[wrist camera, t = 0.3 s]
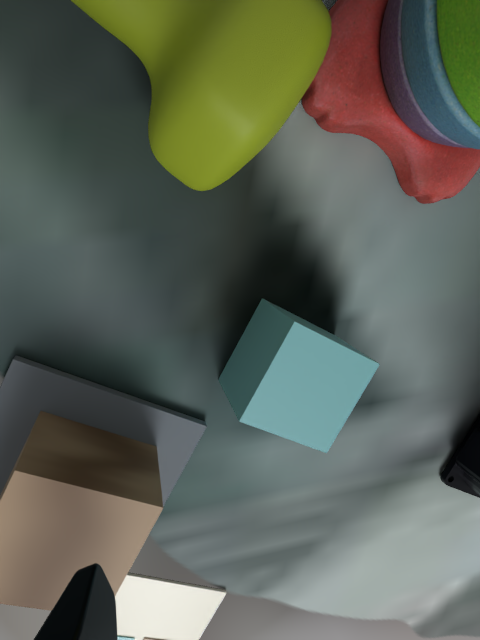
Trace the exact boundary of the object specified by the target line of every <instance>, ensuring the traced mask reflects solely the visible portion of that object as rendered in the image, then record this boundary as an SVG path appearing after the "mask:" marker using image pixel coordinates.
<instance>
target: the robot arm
mask: <svg viewBox="0 0 480 640" xmlns="http://www.w3.org/2000/svg"><path fill="white" fill-rule="evenodd" d="M441 481H443V482H444V483H445V484H446V485H448V486H450V487H453V488H456V489H458V490H461V491H463V492H466V493H469V494H471V495H474V496H477V497H479V498H480V416H479V418H478V419H477V421H476V422H475V424H474V425H473V427H472V428H471V430H470V432H469V433H468V435H467V436H466V438H465V439H464V441H463V442H462V444H461V445H460V447H459V448H458V450H457V452H456V453H455V455H454V456H453V458H452V459H451V461H450V462H449V464H448V465H447V467H446V468H445V470H444V471H443V473H442V475H441ZM34 640H118V638H117V617H116V601H115V596H114V592H113V590H112V588H111V585H110V583H109V581H108V579H107V577H106V575H105V573H104V571H103V569H102V567H101V566H100V565H99V564H98V563H95V564H92V565H89V566H87V567H84V568H82V569H79V570H78V571H77V572H76V573H75V574H74V575H73V577H72V579H71V580H70V582H69V583H68V585H67V587H66V588H65V590H64V591H63V593H62V595H61V596H60V598H59V600H58V601H57V603H56V604H55V606H54V608H53V609H52V611H51V613H50V614H49V616H48V617H47V619H46V621H45V622H44V624H43V626H42V627H41V629H40V630H39V632H38V634H37V635H36V637H35V638H34Z"/></svg>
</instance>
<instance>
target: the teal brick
mask: <svg viewBox="0 0 480 640" xmlns="http://www.w3.org/2000/svg"><path fill="white" fill-rule="evenodd" d="M379 365H380V364H379V363H377V362H376V361H374V360H373V359H371V358H369V357H368V356H366V355H365V354H363V353H362V352H360V351H359V350H357V349H355V348H354V347H352V346H351V345H349V344H348V343H346V342H345V341H343V340H341V339H340V338H338V337H337V336H335V335H333V334H331V333H330V332H328V331H326V330H324V329H322V328H320V327H318V326H316V325H314V324H312V323H310V322H308V321H306V320H304V319H302V318H300V317H298V316H296V315H294V314H292V313H290V312H288V311H286V310H284V309H282V308H280V307H278V306H276V305H274V304H272V303H271V302H269V301H267V300H265V299H263V298H262V299H261V301H260V303H259V305H258V307H257V309H256V311H255V312H254V314H253V316H252V318H251V320H250V322H249V323H248V325H247V327H246V329H245V331H244V333H243V335H242V336H241V338H240V340H239V342H238V344H237V346H236V348H235V349H234V351H233V353H232V355H231V357H230V359H229V361H228V362H227V364H226V366H225V368H224V370H223V372H222V374H221V375H220V377H219V379H218V380H219V382H220V384H221V386H222V388H223V390H224V392H225V394H226V396H227V398H228V400H229V402H230V404H231V406H232V408H233V410H234V412H235V414H236V416H237V418H238V420H239V421H240V422H242V423H245V424H248V425H251V426H253V427H256V428H259V429H262V430H264V431H267V432H270V433H273V434H275V435H278V436H281V437H284V438H286V439H289V440H292V441H295V442H297V443H300V444H303V445H306V446H308V447H311V448H314V449H317V450H319V451H322V452H325V453H327V452H328V450H329V448H330V447H331V445H332V443H333V442H334V440H335V438H336V437H337V435H338V433H339V432H340V430H341V428H342V427H343V425H344V423H345V422H346V420H347V418H348V417H349V415H350V413H351V412H352V410H353V408H354V407H355V405H356V403H357V402H358V400H359V398H360V397H361V395H362V393H363V392H364V390H365V388H366V386H367V385H368V383H369V381H370V380H371V378H372V376H373V375H374V373H375V371H376V370H377V368H378V366H379Z"/></svg>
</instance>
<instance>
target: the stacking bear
mask: <svg viewBox="0 0 480 640" xmlns="http://www.w3.org/2000/svg"><path fill="white" fill-rule="evenodd" d="M329 15H330V18H331V38H330V42H329V47H328V49H327V52H326V55H325V57H324V60H323V62H322V64H321V66H320V68H319V70H318V72H317V74H316V76H315V78H314V79H313V81H312V83H311V84H310V86H309V87H308V89H307V90H306V92H305V94H304V95H303V97H302V104H303V108H304V110H305V111H306V113H307V114H309V115H310V116H312V117H314V119H315V120H316V122H317V124H318V125H319V126H320V127H321V128H322V129H324V130H326V131H328V132H332V133H352V134H356V135H360V136H363V137H365V138H368V139H370V140H371V141H373V142H374V143H376V144H377V145H378V146H379V147H380V148H381V149H382V150H383V151H384V152H385V153H386V154H387V156H388V157H389V158H390V160H391V162H392V164H393V167H394V169H395V172H396V175H397V178H398V181H399V184H400V186H401V188H402V189H403V191H404V192H405V193H406V194H407V195H409V196H414V197H415V198H416V199H417V201H418V202H420V203H423V204H427V203H434V202H437V201H439V200H441V199H447V198H451V197H453V196H455V195H456V194H457V193H459V192H460V191H461V190H462V189H463V188H464V187H465V186H466V185H467V184H468V182H469V181H470V180H471V178H472V177H473V176H474V174H475V173H476V171H477V170H478V169H479V167H480V0H337V2H336V3H335V4H334V5H333V7H332V8H331V9H330V11H329Z"/></svg>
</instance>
